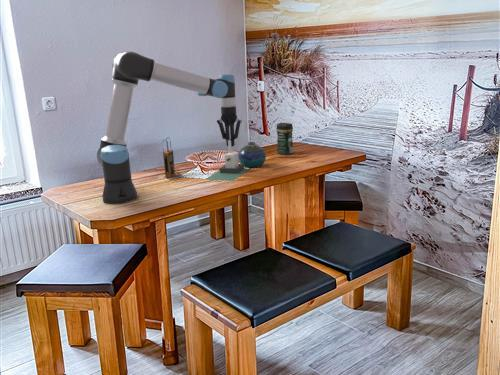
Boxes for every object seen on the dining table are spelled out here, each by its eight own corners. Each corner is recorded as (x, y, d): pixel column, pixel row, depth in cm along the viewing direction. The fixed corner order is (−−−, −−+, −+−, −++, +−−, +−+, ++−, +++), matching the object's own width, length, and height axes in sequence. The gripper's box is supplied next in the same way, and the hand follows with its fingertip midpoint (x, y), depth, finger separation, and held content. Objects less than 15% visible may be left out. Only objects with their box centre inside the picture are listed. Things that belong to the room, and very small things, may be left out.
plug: (232, 173, 243) (231, 156, 241) (223, 173, 245) (222, 156, 242) (239, 169, 252) (238, 152, 249) (230, 168, 253) (229, 152, 251)
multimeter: (181, 179, 242) (177, 140, 237) (162, 179, 244) (158, 140, 239) (190, 172, 256) (187, 135, 251) (172, 172, 258) (169, 135, 253)
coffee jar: (274, 153, 291) (273, 123, 286) (283, 151, 297) (282, 121, 292) (286, 155, 285) (286, 124, 280) (295, 153, 290) (294, 122, 285)
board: (233, 183, 231) (233, 175, 230) (205, 182, 236) (204, 174, 234) (249, 171, 252) (249, 163, 251) (223, 170, 257) (222, 163, 256)
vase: (270, 164, 266) (270, 140, 262) (259, 171, 252) (258, 146, 248) (245, 162, 272) (244, 139, 268) (233, 169, 259) (232, 144, 255)
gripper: (243, 105, 241) (245, 151, 247) (219, 105, 245) (221, 150, 252) (238, 106, 234) (240, 154, 241) (213, 107, 238) (216, 153, 245)
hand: (230, 152), depth 246 cm, fingers closed
